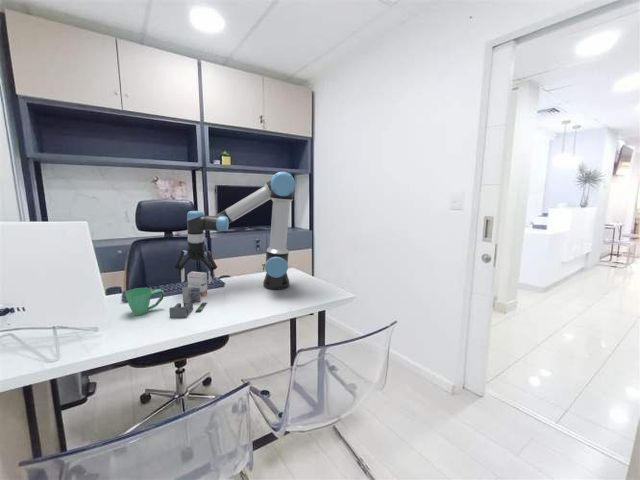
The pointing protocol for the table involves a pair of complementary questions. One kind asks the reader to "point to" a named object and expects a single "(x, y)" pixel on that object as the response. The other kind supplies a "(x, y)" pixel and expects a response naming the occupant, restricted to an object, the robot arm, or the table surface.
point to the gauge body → (184, 310)
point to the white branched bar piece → (191, 295)
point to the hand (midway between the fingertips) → (196, 281)
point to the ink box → (198, 281)
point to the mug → (141, 299)
